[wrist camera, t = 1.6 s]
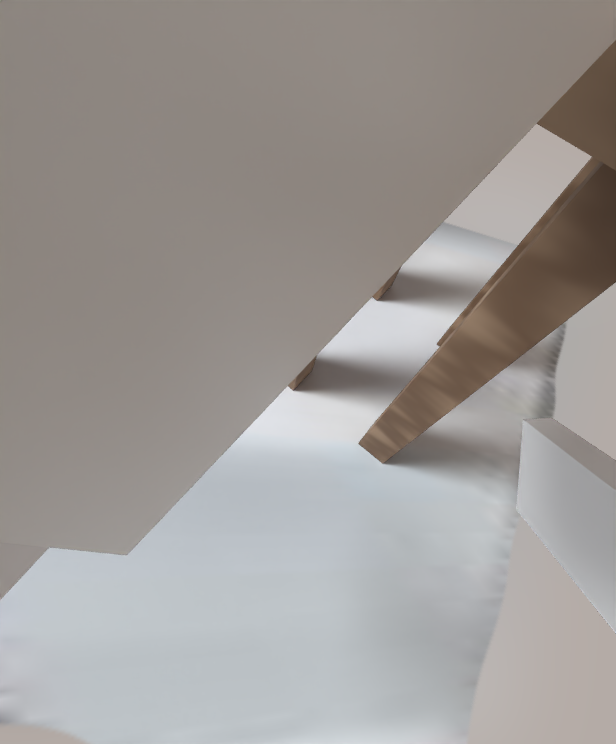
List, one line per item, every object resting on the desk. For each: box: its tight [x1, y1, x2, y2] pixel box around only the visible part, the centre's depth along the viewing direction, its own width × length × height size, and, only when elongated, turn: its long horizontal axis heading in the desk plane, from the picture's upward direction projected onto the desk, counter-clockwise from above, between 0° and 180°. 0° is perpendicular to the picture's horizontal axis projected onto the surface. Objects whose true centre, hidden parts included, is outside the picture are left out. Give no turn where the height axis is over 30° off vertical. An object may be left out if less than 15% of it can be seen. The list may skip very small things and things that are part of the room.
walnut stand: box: [288, 40, 616, 463], centre depth 24 cm, size 12×16×28 cm
